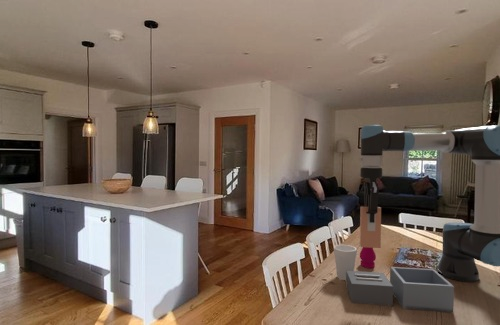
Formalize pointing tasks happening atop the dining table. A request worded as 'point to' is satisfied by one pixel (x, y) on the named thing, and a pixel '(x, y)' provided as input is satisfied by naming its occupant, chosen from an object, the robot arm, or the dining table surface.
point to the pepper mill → (367, 257)
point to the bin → (422, 289)
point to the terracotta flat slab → (370, 237)
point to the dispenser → (369, 288)
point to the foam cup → (344, 259)
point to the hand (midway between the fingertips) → (370, 229)
